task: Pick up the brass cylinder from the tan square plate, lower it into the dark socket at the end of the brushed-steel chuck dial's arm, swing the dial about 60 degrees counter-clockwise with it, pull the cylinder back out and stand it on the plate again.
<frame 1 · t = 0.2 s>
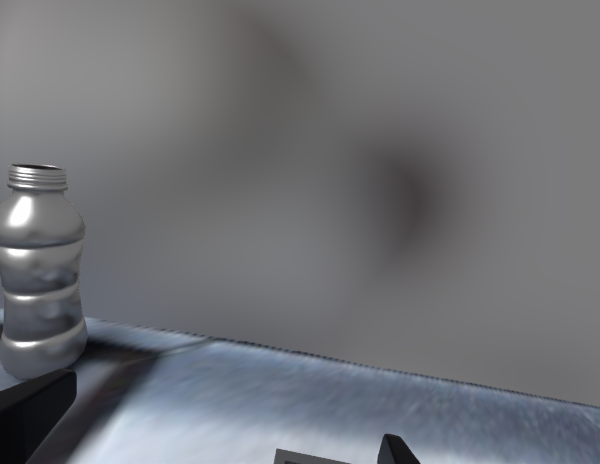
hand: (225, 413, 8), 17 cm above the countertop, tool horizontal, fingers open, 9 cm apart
plastic bottle: (47, 366, 29), on the countertop
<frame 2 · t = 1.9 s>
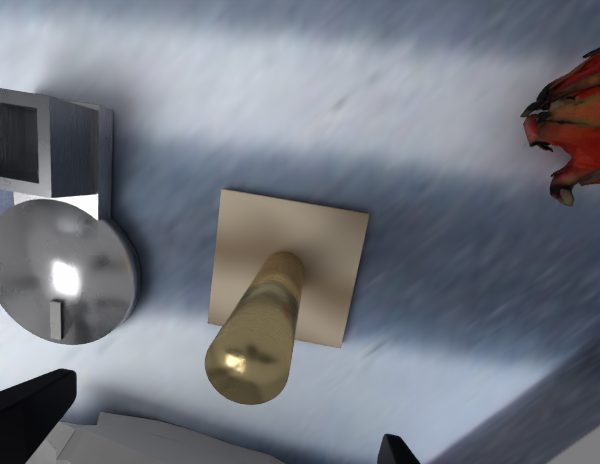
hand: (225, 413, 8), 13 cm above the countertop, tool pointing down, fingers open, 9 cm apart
dragon fruit: (583, 134, 17), on the countertop
brass cylinder: (283, 272, 20), point 1 cm above the countertop, touching tan square plate
tan square plate: (284, 269, 20), on the countertop
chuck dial: (43, 234, 19), point 2 cm above the countertop, hinge at 0.0°
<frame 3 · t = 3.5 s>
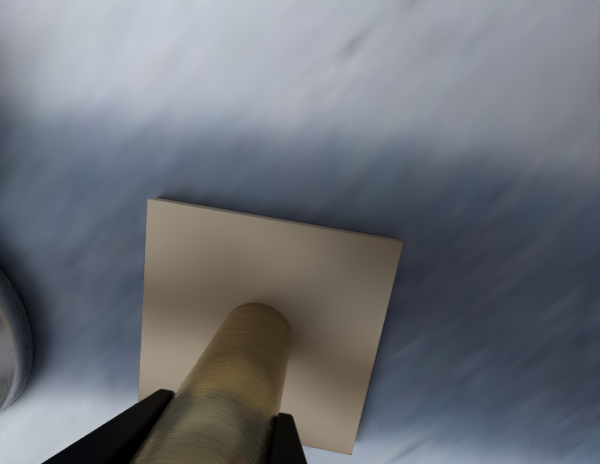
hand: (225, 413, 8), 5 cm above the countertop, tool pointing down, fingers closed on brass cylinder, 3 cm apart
brass cylinder: (256, 336, 12), point 1 cm above the countertop, touching gripper, tan square plate
tan square plate: (259, 328, 12), on the countertop
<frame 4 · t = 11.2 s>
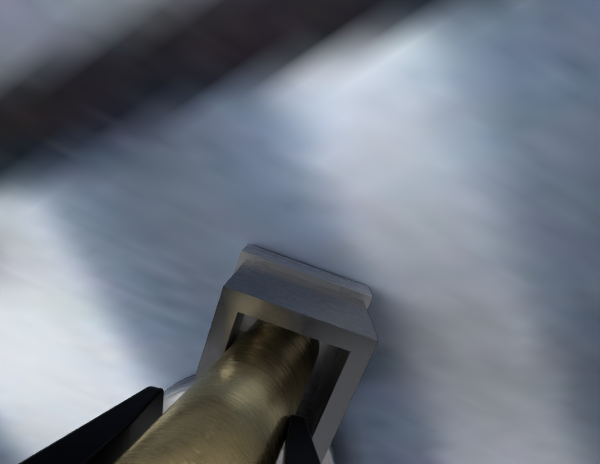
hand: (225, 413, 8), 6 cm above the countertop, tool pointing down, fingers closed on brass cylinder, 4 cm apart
brass cylinder: (285, 341, 12), point 2 cm above the countertop, tilted 13°, touching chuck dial, gripper
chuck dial: (243, 448, 13), point 2 cm above the countertop, hinge at 49.6°, touching brass cylinder
when the fingers open (6 cm above the countertop, at t = 15.6 s): brass cylinder stays where it is, resting on tan square plate.
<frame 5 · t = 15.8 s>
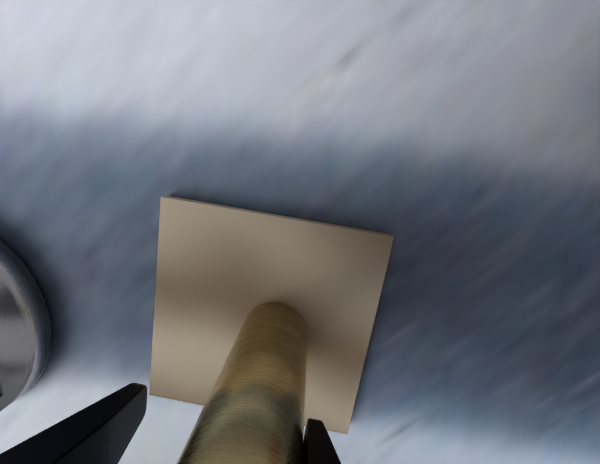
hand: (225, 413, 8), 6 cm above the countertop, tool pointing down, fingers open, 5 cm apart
brass cylinder: (275, 332, 13), point 1 cm above the countertop, touching gripper, tan square plate
tan square plate: (262, 316, 13), on the countertop
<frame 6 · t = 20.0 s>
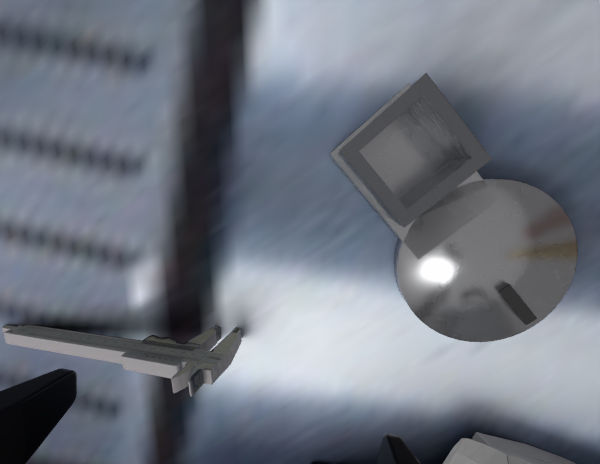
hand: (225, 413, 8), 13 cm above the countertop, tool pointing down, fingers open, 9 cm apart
caliper: (124, 328, 23), on the countertop
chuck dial: (462, 230, 17), point 2 cm above the countertop, hinge at 50.5°
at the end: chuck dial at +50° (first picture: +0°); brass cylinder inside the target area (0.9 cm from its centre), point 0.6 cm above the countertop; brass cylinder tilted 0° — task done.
